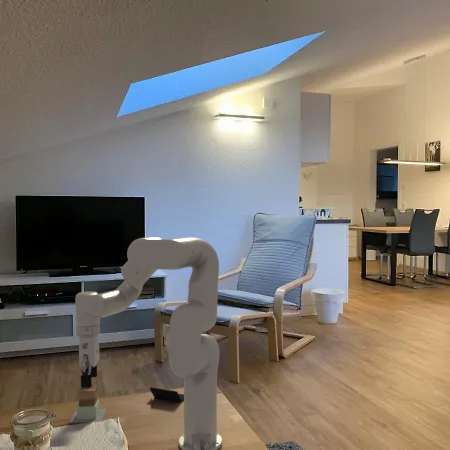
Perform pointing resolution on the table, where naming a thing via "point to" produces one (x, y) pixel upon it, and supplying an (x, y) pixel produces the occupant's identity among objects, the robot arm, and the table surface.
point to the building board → (99, 418)
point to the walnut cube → (88, 396)
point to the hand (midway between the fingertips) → (89, 382)
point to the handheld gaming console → (167, 395)
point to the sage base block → (88, 411)
